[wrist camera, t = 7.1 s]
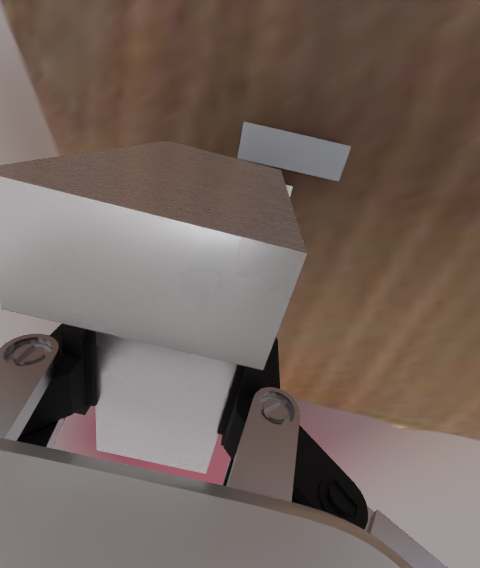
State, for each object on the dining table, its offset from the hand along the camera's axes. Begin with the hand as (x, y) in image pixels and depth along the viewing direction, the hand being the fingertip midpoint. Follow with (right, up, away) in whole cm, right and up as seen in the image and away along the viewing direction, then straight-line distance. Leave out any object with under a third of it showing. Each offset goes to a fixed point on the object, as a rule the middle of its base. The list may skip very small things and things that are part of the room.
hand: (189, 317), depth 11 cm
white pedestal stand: (0, +2, +1) cm, 2 cm away
